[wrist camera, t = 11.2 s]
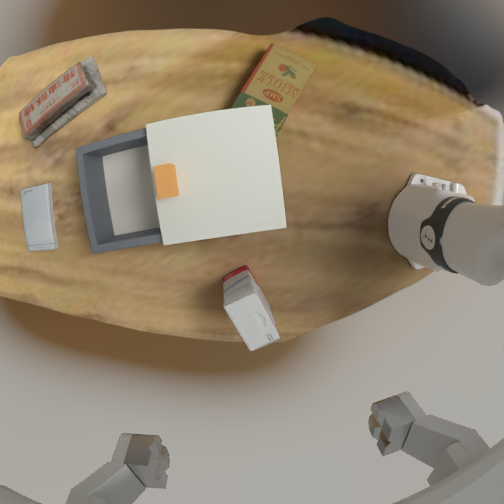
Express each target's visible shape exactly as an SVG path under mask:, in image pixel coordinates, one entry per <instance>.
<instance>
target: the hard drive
mask: <svg viewBox="0 0 504 504" xmlns="http://www.w3.org/2000/svg"><path fill="white" fill-rule="evenodd" d="M20 191H21V204H22V214H23V223H24V230H25V237H26V243H27V249H28V251H40V250H51V249H57V248H58V243H57V236H56V229H55V221H54V213H53V203H52V190H51V183H47V184H42V185H38V186H34V187H30V188H26V189H22V190H20Z"/></svg>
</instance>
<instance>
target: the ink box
mask: <svg viewBox="0 0 504 504" xmlns="http://www.w3.org/2000/svg"><path fill="white" fill-rule="evenodd" d="M223 293H224V306H223V307H224V309H225V310H226V312H227V314H228V316H229V317H230V319H231V321H232V322H233V324H234V325H235V327H236V329H237V330H238V332H239V334H240V335H241V337H242V338H243V340H244V342H245V343H246V345H247V346H248V348H249V350H250V351H253V350H256V349H259V348H261V347H264V346H266V345H268V344H270V343H273V342H275V341H277V340H279V339H280V337H279V334H278V331H277V328H276V325H275V321H274V318H273V315H272V312H271V309H270V306H269V304H268V302H267V300H266V298H265V296H264V295H263V293H262V291H261V289H260V288H259V286H258V284H257V282H256V281H255V279H254V277H253V275H252V273H251V272H250V270H249V268H248V266H246V265H245V266H243V267H241V268H239V269H237V270H235V271H233V272H231V273H230V274H228V275H226V276H225V277H223Z"/></svg>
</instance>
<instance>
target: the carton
mask: <svg viewBox="0 0 504 504" xmlns="http://www.w3.org/2000/svg"><path fill="white" fill-rule="evenodd" d="M315 68H316V65H314V64H313V63H311V62H309V61H307V60H306V59H304V58H302V57H300V56H298V55H296V54H294V53H292V52H290V51H288V50H286V49H284V48H282V47H280V46H278V45H275V44H273V43H271V44H270V46H269V47H268V49H267V51H266V52H265V54H264V55H263V57H262V58H261V60H260V61H259V63H258V65H257V66H256V68H255V69H254V71H253V72H252V74H251V76H250V77H249V79H248V80H247V82H246V84H245V85H244V87H243V88H242V90H241V92H240V93H239V95H238V97H237V98H236V100H235V102H234V103H233V105H232V107H231V108H230V109H233V108H242V107H251V106H261V105H271V108H272V115H273V122H274V129H275V136H277V134H278V133H279V131H280V129H281V127H282V125H283V123H284V121H285V120H286V118H287V116H288V114H289V113H290V111H291V109H292V107H293V105H294V104H295V102H296V100H297V98H298V97H299V95H300V93H301V91H302V90H303V88H304V86H305V84H306V83H307V81H308V79H309V77H310V76H311V74H312V72H313V71H314V69H315Z"/></svg>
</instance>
